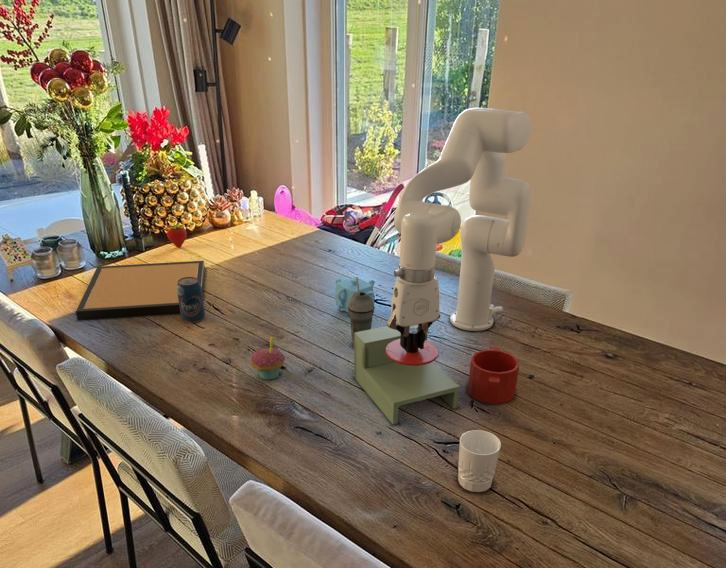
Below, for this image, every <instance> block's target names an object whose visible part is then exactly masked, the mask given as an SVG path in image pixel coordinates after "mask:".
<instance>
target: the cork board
mask: <svg viewBox="0 0 726 568" xmlns="http://www.w3.org/2000/svg"><path fill="white" fill-rule="evenodd" d="M205 272H206V265H205V260H191V261H175V262H173V261H172V262H153V263H138V264H119V265H101V266H96V268H95V270H94V272H93V275H92V277H91V279H90V281H89V283H88V285H87V287H86V289H85V291H84V293H83V296H82V298H81V300H80V301H79V304H78V306H77V307H76V310H75V314H76V315H75V316H76V319H77V321H85V320H100V319H101V320H102V319H116V318H117V319H118V318H130V317H131V318H133V317H144V316H145V317H147V316H160V315H161V316H163V315H177V314H181V312H180V306H179V300H178V294H177V288H176V287H177V284H178V280H179V279H181V278H185V277H194V278H197V279H198V282H199V283H200V284H201V289H202V294H203V292H204V283H205V282H204V281H205Z"/></svg>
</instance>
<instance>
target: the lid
mask: <svg viewBox="0 0 726 568" xmlns="http://www.w3.org/2000/svg"><path fill="white" fill-rule="evenodd" d="M419 332H420V331H419V330H418V329H416V328H410V329H409V335H410V337H411V343H410V351H409V352H406V351H405V350H404V349H403V348H402V347H401V345H400V339H398V340H395V341H392V342H391V343H389V344H388V345H387V347H386V355H387V357H388V358H389V359H391V360H392V361H394V362H396V363H399V364H403V365H409V366H420V365H425V364H429V363H431V362H435V361H436V360H437V359H438V357H439V354H440V351H439V348H438V347H437V346H436V345H435V344H434V343H433V342H431V341H429V340H427V341H426V340H425V343H424V348H423V349H420V348H419Z"/></svg>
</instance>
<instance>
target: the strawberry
mask: <svg viewBox="0 0 726 568" xmlns="http://www.w3.org/2000/svg"><path fill="white" fill-rule="evenodd" d="M168 228H169V229H168V230H167V231H166V237H167V239H168V241H170V242H171V244H173V245H174V246H175V247H176V248H179V249H180V248H182V246H183V245H184V243H185V241H186V239H187V234H188V232H187V230H186V229H185V228H184V227H183V225H178V224H177V222H175V224H173V226H169V227H168Z"/></svg>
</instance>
